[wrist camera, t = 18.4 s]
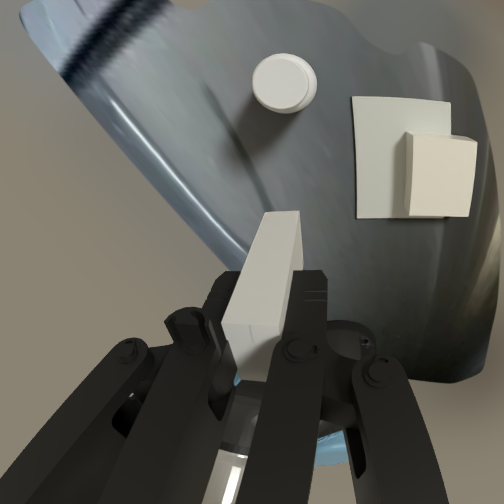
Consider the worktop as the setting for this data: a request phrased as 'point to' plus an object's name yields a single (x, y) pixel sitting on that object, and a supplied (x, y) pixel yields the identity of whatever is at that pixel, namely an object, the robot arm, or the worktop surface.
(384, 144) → the mat
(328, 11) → the worktop surface
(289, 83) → the pill bottle
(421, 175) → the cream rectangular block
